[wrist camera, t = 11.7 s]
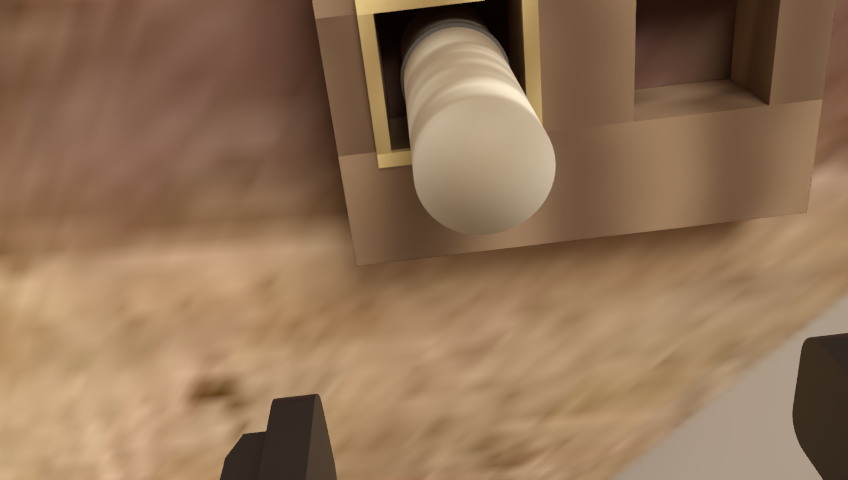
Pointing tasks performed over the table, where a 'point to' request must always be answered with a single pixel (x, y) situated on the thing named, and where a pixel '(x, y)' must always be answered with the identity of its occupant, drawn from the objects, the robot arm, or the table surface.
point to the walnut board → (594, 125)
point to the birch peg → (470, 125)
